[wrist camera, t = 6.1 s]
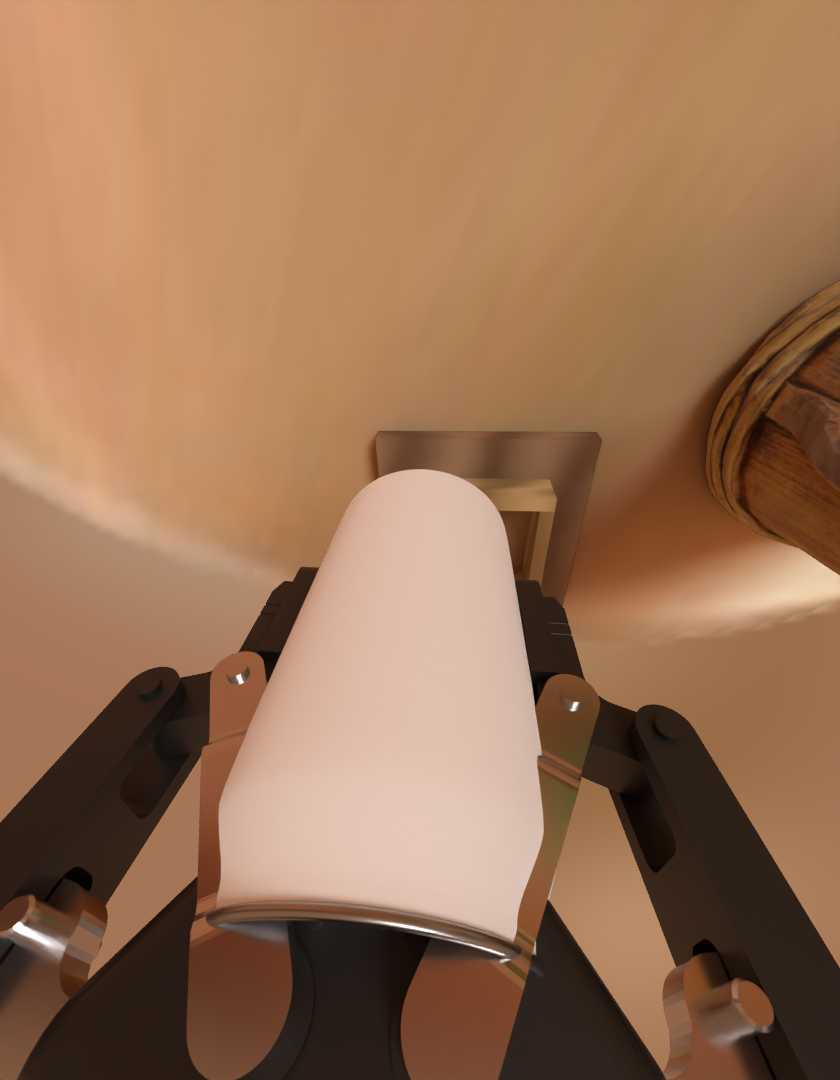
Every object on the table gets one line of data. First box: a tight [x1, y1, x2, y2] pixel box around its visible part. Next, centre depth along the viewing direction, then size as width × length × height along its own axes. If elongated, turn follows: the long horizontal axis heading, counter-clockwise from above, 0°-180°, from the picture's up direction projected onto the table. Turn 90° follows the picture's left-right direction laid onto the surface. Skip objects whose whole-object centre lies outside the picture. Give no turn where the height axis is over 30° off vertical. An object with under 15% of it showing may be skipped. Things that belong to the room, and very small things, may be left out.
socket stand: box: [375, 431, 602, 606], centre depth 33 cm, size 16×16×4 cm
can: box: [190, 469, 556, 977], centre depth 11 cm, size 6×6×12 cm
